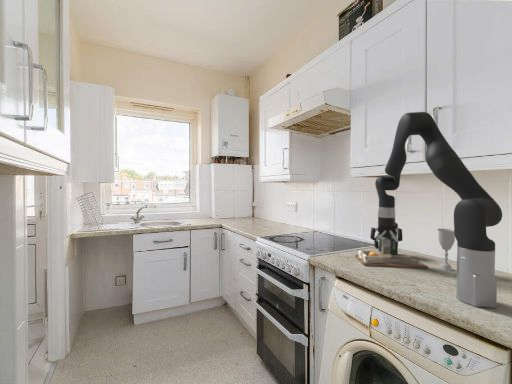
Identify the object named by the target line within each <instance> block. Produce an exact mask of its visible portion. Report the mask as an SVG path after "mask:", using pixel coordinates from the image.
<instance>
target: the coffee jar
mask: <svg viewBox="0 0 512 384" xmlns="http://www.w3.org/2000/svg"><path fill="white" fill-rule="evenodd" d="M398 228H399V225H398V223H397V222H395V229H398ZM394 235H395V236H396V238H398V234H397V232H396V231H395V233H394ZM382 238H383V239H390V240H391V247H390V254H391V256H399V255H398V254H399V253H398V252H399V251H398V249H399V248H398V249H397V250H395V249H393V241H394V240H393V239H392V237H383V236H382ZM382 238H380V239H379V240H378V242H379V248H378V249H377V250H378V251H377V252H378V253H379V252H382Z"/></svg>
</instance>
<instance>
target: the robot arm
mask: <svg viewBox="0 0 512 384" xmlns="http://www.w3.org/2000/svg"><path fill="white" fill-rule="evenodd" d="M410 136H419V137H421V138H422V140H423V142H424V143H425V145H426V152H425V162H426V164H427V166H428V167H429V169H430V170H431V172H432V174H433V175H434V177H436V178H437V179H438V180H439V181H440V182H442V183H443V184H444V185H446V187H448V188H450V189H451V190H452V191H454V192H455V194H456V195H458V197H459V198H460V199H461V200H459V201H458V202H457V204H456V205H455V207H454V209H453V210H454V211H453V230H454V234H455V241H456V243H457V245H456V247H457V248H456V250H457V251H456V294H455V295H456V297H455V298H457V300H459V301H460V302H463V303H465V304H468V305H472V306H473V307H474V308H475V307H477V308H478V307H479V308H493V309H497V307H498V305H497V302H498V301H497V300H498V299H497V296H498V295H497V294H498V277H497V276H495V274H496V242H495V241H494V240H492V239H490V238H489V237H488V235H487V228H488V227H490V228H491V227H494V226H497V225H498V224H499V223H501V221H502V219H503V211H502V208H501V206H500V205H499V204H498V202H497V201H496V200H495V199H494V198H493V197H492V196H491V195H490V194H489V193H488V192H487V191H486V190H485V189H484V188H483V187H482V186H481V185H480V184H479V182H478V181H477V180H476V178H475V177H474V175H473V174H472V173H471V171H470V170H469V169H468V168H467V166H466V165H465V164H464V162H463V161H462V159H461V158H460V157H459V155H458V154H457V152H456V151H455V150H454V149H453V148H452V147H451V145H450V144H449V142H448V141H447V138H445V136H444V135H443V133H442V132H441V130H440V128H439V127H438V125H437V123H436V121H435V120H434V118H433V116H432V115H431V114H430V113H429V112H426V111H417V112H406V113H404V114H402V116H401V117H400V119H399V121H398V124H397V127H396V131H395V135H394V139H393V144H392V149H391V153H390V156H389V158H388V161H387V163H386V165H385V168H384V173H385V174H386V175H385V176H384V175H380V176H378V177H376V179H375V183H374V184H375V189H376V192H377V196H378V209H377V210H378V211H377V212H378V213H377V221H378V222H377V227H373V226H371V228H370V240H372V241H374V244H373V246H374V248H375V249H376V250H379V239H380V238H382V236H383V237H392V239H393V240H394V241H393V249H395V250H397V249H399V242H403V229H402V228H400V227H398V229H395V223H396V207H395V206H396V199H395V198H396V197H395V196H393V195H391V194H388V193H387V191H396V190H397V189H399V187H400V185H401V184H400V183H401V174H402V172H403V169H404V167H405V166H406V163H407V159H408V158H407V156H408V155H407V150H406V143H407V141H408V139H409V137H410ZM395 231H396V232H397V238H396V236H395V235H394V233H395ZM376 232H378V233H377V234H376ZM375 234H376V235H375Z"/></svg>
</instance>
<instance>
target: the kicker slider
mask: <svg viewBox="0 0 512 384" xmlns="http://www.w3.org/2000/svg"><path fill="white" fill-rule="evenodd" d="M390 247H391V240H390V239H383V238H382V252H379V251H378V255H379V256H381V257H383V259H391V254H390Z"/></svg>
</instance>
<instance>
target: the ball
mask: <svg viewBox="0 0 512 384" xmlns="http://www.w3.org/2000/svg"><path fill="white" fill-rule="evenodd" d="M378 255H379V254H378V253H377V252H376V251H375V252H370V253H369V256H378Z"/></svg>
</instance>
